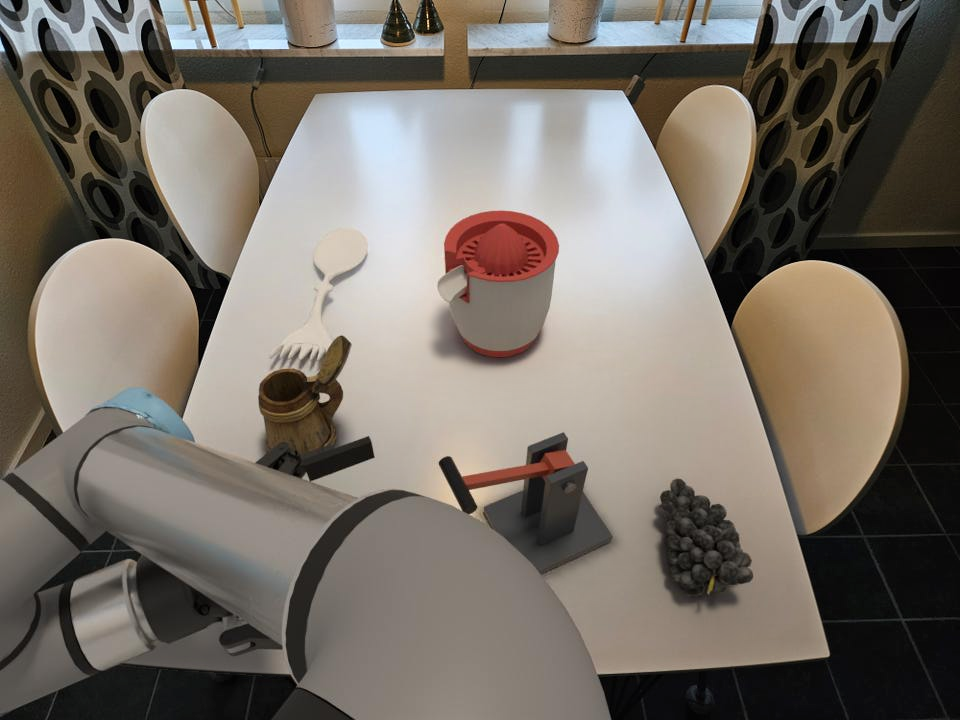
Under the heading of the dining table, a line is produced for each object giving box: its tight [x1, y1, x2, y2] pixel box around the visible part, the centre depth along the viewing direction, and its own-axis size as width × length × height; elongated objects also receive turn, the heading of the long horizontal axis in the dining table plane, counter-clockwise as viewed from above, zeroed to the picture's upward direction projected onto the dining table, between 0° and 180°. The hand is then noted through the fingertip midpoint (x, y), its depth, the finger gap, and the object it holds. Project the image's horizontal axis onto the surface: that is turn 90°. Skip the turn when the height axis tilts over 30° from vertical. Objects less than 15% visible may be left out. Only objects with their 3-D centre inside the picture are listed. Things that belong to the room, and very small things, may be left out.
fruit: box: [658, 478, 754, 597], centre depth 73 cm, size 9×8×15 cm
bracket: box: [483, 431, 614, 575], centre depth 72 cm, size 12×10×15 cm
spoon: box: [268, 227, 369, 362], centre depth 104 cm, size 9×32×4 cm, turn 175°
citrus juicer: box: [436, 210, 560, 358], centre depth 92 cm, size 16×17×20 cm
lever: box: [438, 449, 576, 515], centre depth 65 cm, size 14×6×2 cm, turn 116°
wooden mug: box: [257, 334, 352, 454], centre depth 79 cm, size 9×14×18 cm, turn 97°
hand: (396, 502), depth 59 cm, fingers open, 13 cm apart
